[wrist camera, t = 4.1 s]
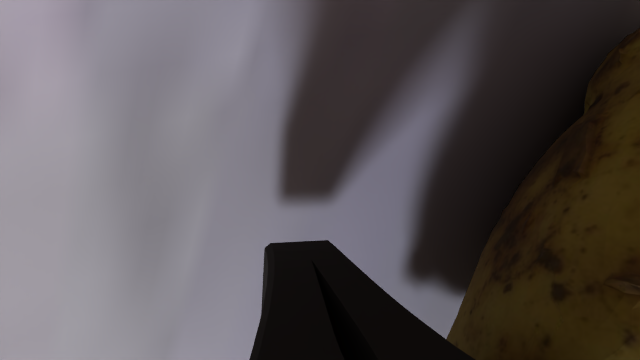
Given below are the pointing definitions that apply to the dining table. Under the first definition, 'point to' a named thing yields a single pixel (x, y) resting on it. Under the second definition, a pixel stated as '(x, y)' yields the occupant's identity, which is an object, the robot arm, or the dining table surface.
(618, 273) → the potato
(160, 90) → the dining table surface
